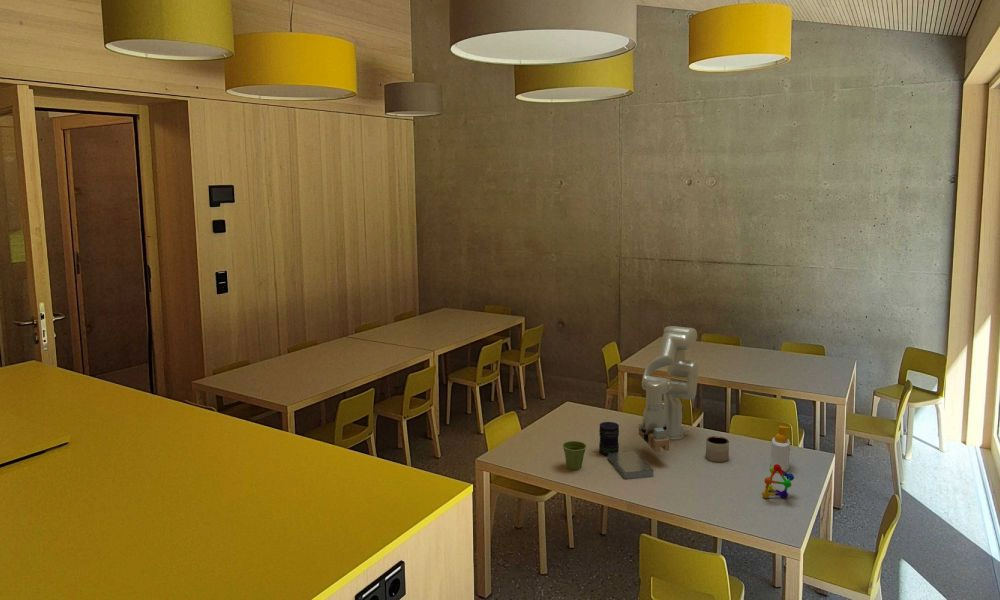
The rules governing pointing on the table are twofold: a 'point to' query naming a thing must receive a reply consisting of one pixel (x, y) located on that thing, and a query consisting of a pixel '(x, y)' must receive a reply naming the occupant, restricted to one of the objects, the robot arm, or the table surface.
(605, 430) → the storage jar
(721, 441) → the planter
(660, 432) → the block
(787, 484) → the educational toy
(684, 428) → the robot arm
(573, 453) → the plant pot
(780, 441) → the soap bottle
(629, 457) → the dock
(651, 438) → the wooden block carrier
